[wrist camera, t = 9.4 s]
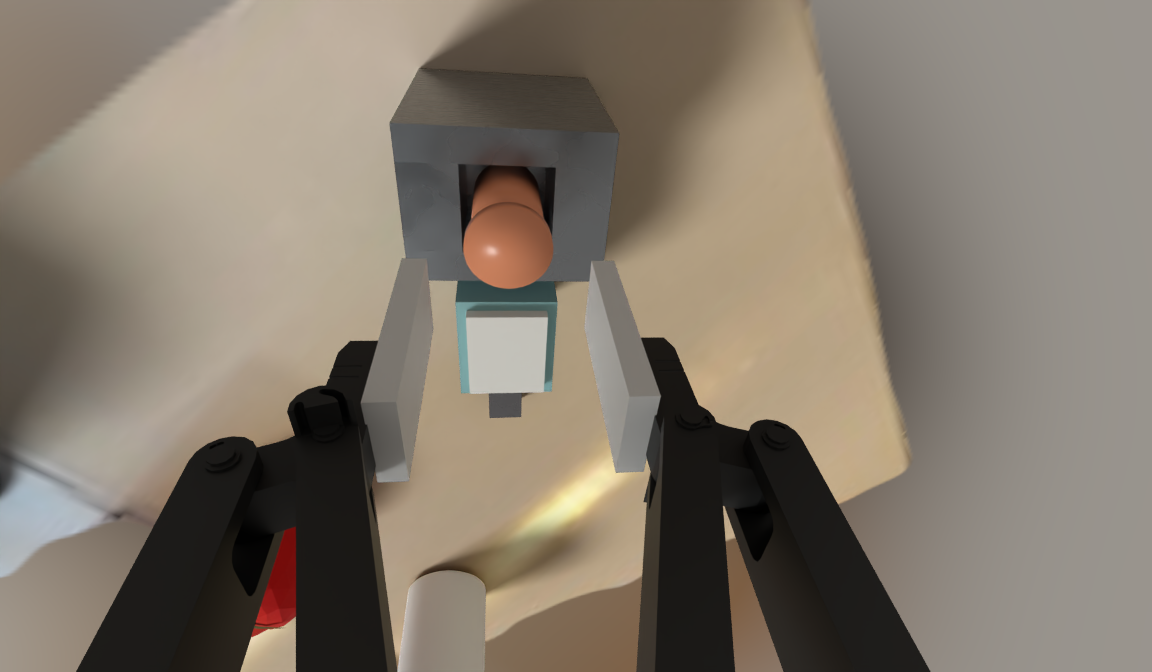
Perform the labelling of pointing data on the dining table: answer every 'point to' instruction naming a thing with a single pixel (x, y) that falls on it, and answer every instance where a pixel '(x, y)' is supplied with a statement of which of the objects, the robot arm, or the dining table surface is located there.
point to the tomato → (280, 588)
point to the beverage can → (444, 624)
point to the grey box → (503, 162)
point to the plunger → (507, 229)
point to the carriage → (506, 337)
